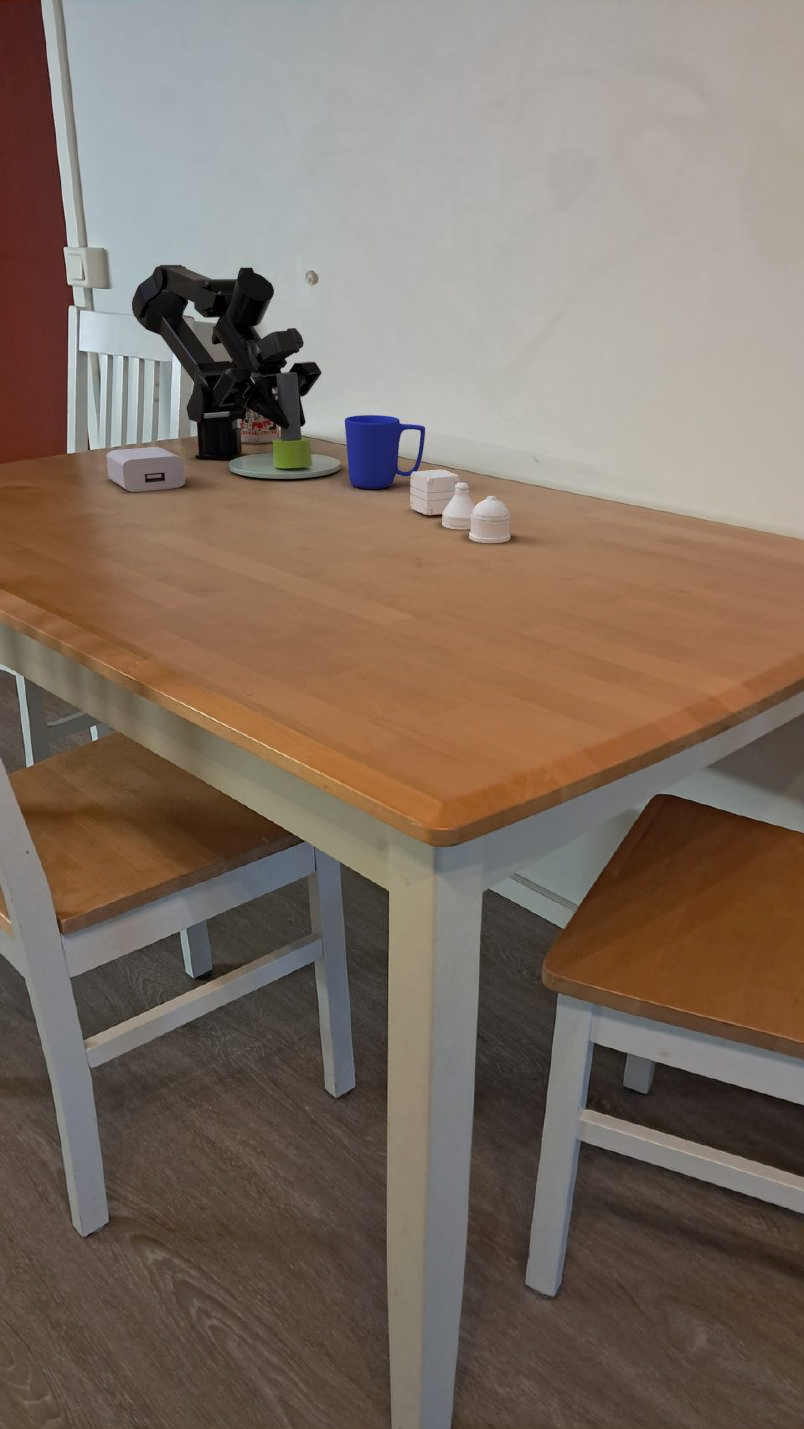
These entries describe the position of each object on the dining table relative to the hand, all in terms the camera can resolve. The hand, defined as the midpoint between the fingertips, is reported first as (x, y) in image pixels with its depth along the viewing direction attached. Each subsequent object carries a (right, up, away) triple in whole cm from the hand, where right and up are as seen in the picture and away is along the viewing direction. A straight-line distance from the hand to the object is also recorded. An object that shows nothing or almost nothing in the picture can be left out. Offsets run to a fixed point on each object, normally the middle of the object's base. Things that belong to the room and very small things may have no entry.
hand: (295, 426), depth 166 cm
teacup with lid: (-9, +6, +33) cm, 35 cm away
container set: (+24, -20, -25) cm, 40 cm away
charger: (-24, -9, -2) cm, 25 cm away
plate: (-2, -5, +7) cm, 9 cm away
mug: (+14, -10, -3) cm, 18 cm away
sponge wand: (-1, -6, +3) cm, 6 cm away
